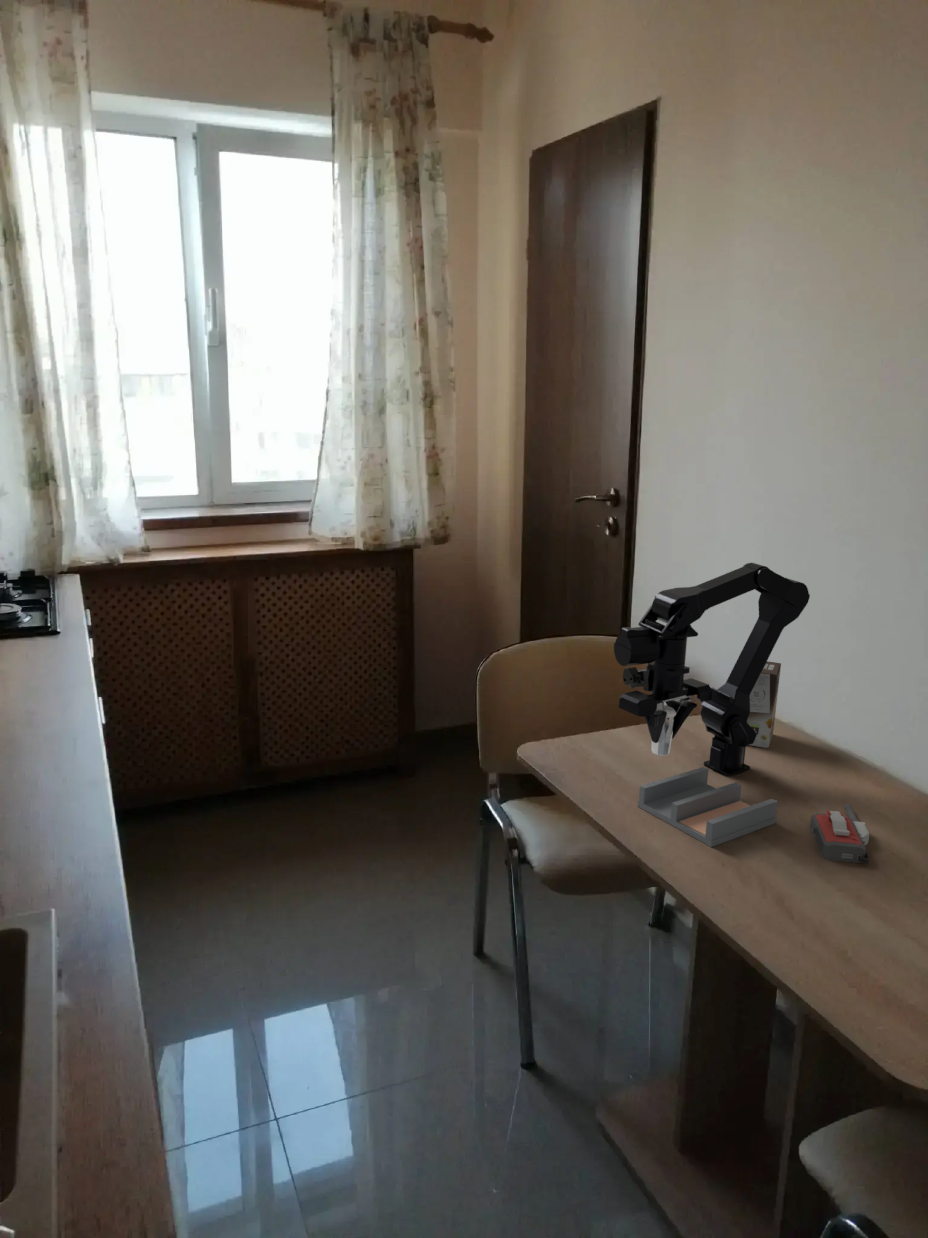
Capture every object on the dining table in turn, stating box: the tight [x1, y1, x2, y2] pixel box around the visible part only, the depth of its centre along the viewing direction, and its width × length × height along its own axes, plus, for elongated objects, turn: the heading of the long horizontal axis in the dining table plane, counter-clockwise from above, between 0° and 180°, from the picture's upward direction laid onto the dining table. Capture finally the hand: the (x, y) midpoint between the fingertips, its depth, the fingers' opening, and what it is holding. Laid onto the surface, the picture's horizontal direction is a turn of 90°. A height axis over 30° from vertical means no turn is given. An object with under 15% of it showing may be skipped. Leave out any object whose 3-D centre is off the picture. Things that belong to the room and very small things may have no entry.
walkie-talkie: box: [809, 803, 870, 864], centre depth 153 cm, size 9×4×20 cm
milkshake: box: [651, 703, 682, 757], centre depth 172 cm, size 4×5×10 cm
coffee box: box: [747, 660, 782, 749], centre depth 193 cm, size 9×6×16 cm
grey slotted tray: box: [637, 766, 778, 848], centre depth 160 cm, size 16×17×4 cm
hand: (662, 740), depth 172 cm, fingers closed on milkshake, 4 cm apart
